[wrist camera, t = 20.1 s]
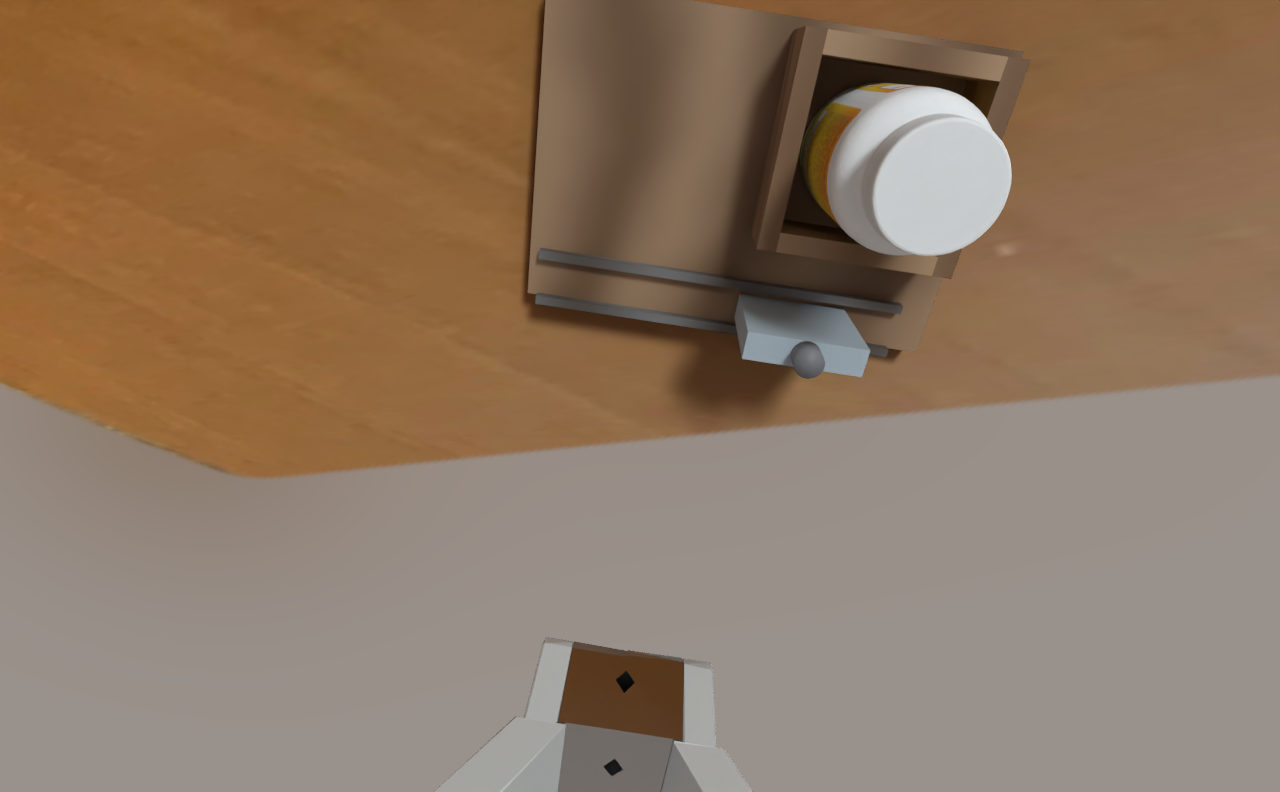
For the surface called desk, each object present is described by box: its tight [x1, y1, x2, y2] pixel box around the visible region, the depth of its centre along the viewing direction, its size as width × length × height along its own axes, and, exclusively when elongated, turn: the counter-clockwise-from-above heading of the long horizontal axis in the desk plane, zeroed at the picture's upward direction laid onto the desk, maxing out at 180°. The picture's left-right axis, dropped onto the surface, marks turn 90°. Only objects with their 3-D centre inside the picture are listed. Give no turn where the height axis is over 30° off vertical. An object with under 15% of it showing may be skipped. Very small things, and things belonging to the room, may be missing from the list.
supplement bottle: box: [800, 83, 1012, 256], centre depth 24 cm, size 5×5×10 cm
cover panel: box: [734, 294, 870, 379], centre depth 28 cm, size 5×1×6 cm, turn 82°
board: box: [528, 0, 1031, 357], centre depth 28 cm, size 19×13×4 cm
